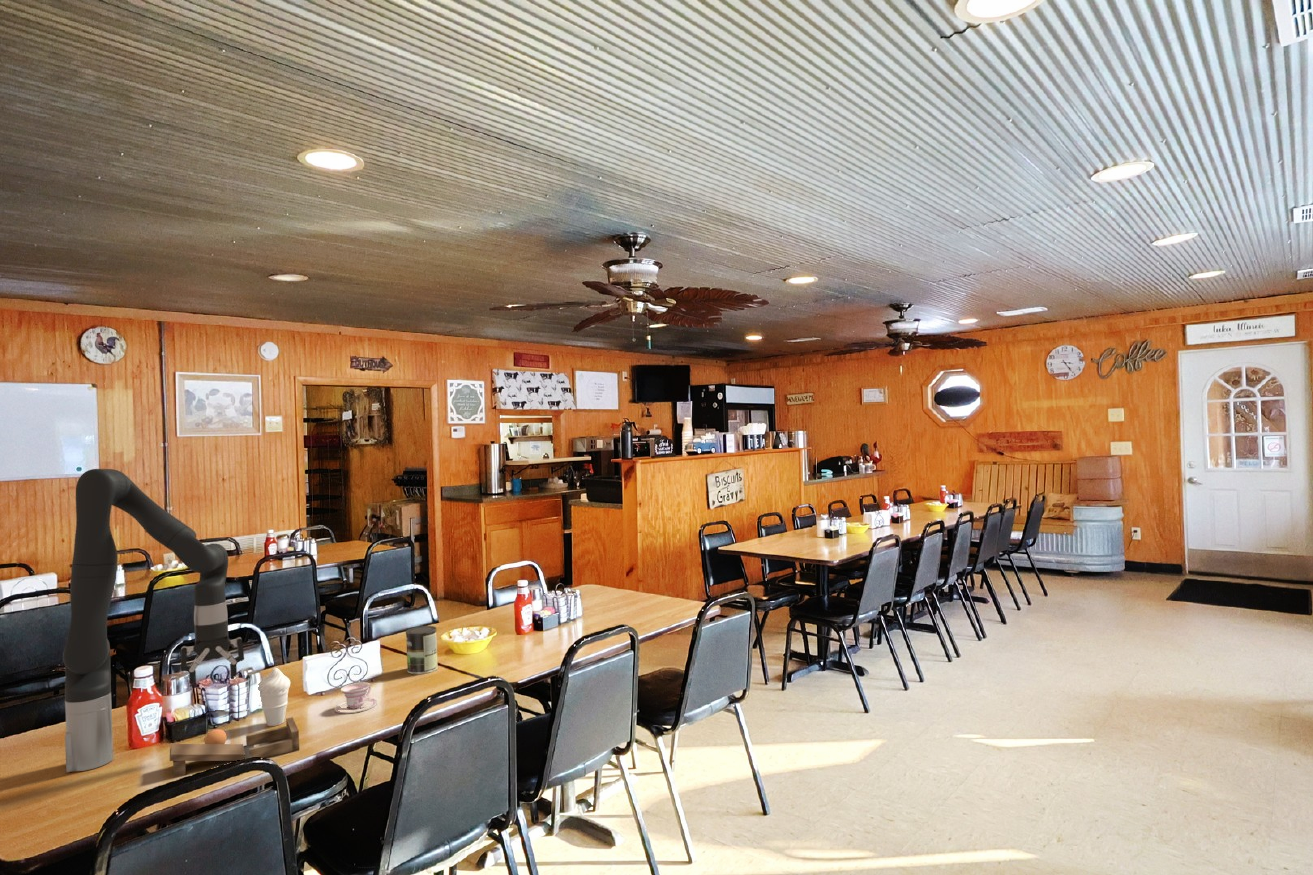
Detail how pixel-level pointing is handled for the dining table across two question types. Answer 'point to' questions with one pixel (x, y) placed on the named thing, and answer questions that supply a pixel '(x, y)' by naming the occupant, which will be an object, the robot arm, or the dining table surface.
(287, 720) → the box
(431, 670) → the coffee can
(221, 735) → the ball
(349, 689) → the teacup
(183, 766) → the ramp
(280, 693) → the soft serve ice cream cone
